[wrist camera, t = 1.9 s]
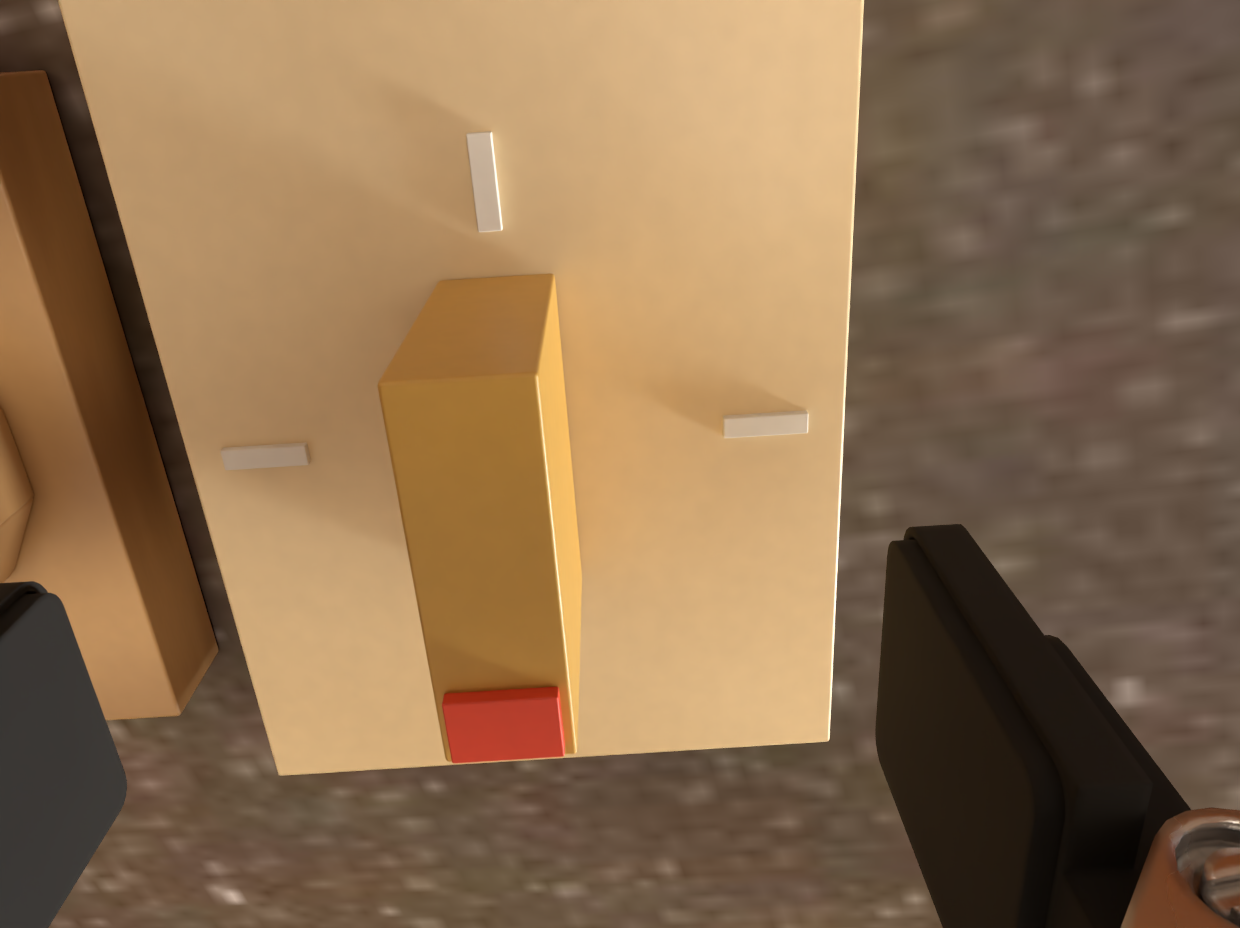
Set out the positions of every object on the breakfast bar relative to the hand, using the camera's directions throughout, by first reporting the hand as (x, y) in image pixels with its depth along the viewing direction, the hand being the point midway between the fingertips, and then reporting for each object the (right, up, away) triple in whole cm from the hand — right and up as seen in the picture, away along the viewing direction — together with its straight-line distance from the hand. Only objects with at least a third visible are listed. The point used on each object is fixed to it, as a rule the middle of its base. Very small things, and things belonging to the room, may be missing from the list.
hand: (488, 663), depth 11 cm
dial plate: (0, +4, +8) cm, 9 cm away
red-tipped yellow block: (0, +3, +5) cm, 6 cm away
